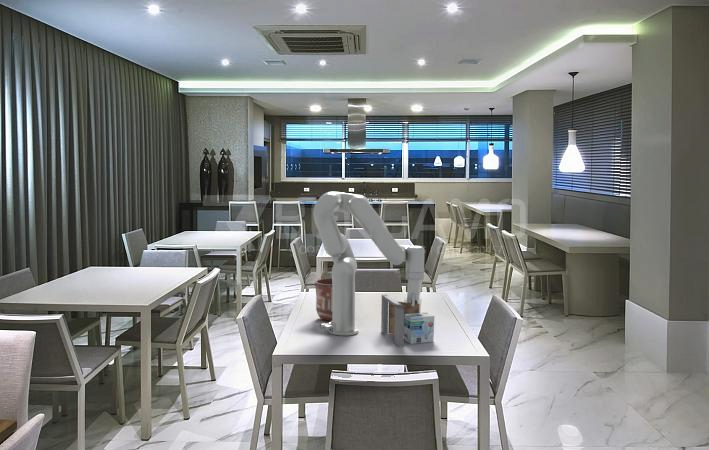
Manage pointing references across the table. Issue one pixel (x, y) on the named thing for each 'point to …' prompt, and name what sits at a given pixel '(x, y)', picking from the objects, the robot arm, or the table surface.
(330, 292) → the pottery
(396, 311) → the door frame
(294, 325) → the table surface
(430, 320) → the light bulb box
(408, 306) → the door
